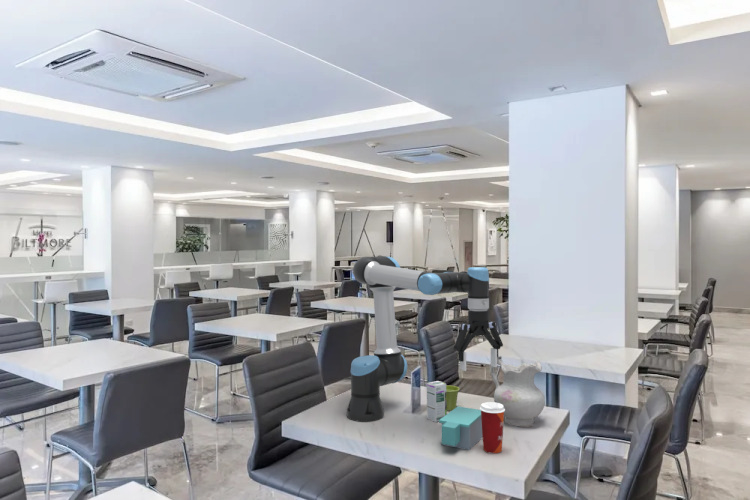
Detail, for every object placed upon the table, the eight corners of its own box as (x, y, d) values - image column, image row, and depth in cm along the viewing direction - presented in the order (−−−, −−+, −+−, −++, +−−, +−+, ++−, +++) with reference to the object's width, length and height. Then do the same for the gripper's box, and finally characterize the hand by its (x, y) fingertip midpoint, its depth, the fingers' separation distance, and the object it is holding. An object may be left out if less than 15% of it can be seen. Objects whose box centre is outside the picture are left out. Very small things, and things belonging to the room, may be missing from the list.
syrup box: (435, 422, 198) (435, 385, 198) (426, 418, 203) (426, 382, 203) (447, 419, 201) (446, 383, 201) (437, 415, 206) (437, 380, 206)
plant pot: (442, 412, 210) (441, 391, 210) (434, 406, 219) (434, 386, 219) (463, 411, 212) (463, 390, 212) (454, 404, 221) (454, 384, 221)
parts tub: (469, 450, 170) (469, 426, 171) (441, 444, 175) (441, 421, 176) (482, 436, 183) (482, 414, 183) (456, 432, 188) (456, 410, 188)
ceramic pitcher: (482, 426, 197) (480, 363, 195) (495, 408, 214) (493, 350, 212) (540, 435, 187) (539, 369, 185) (548, 416, 204) (548, 355, 202)
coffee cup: (508, 454, 167) (508, 408, 167) (484, 455, 166) (483, 409, 166) (500, 444, 175) (500, 400, 175) (476, 445, 175) (476, 401, 175)
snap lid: (463, 447, 165) (463, 429, 165) (433, 441, 170) (433, 424, 170) (485, 426, 185) (485, 410, 185) (457, 421, 190) (457, 406, 190)
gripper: (455, 312, 176) (455, 374, 176) (512, 309, 187) (512, 366, 187) (443, 310, 183) (444, 369, 183) (499, 307, 194) (499, 362, 193)
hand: (478, 368), depth 185 cm, fingers open, 13 cm apart
